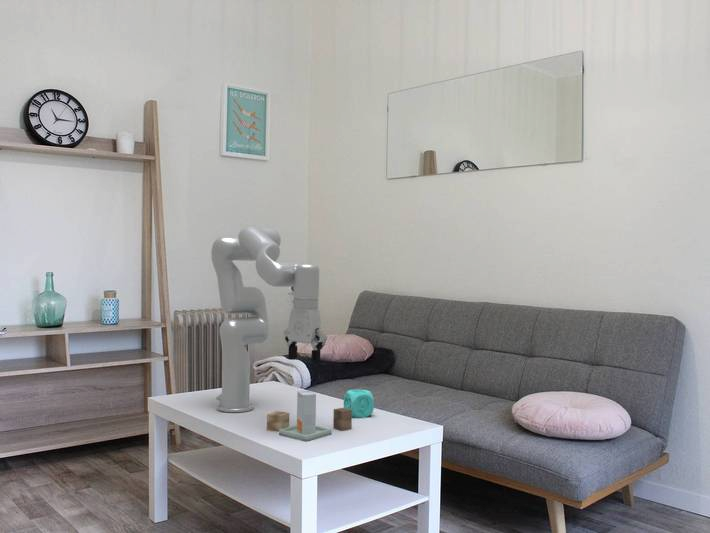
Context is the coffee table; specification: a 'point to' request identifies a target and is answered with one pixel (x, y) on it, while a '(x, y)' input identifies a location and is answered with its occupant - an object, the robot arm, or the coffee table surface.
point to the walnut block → (342, 419)
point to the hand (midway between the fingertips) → (303, 360)
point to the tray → (296, 434)
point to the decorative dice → (359, 402)
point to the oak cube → (277, 420)
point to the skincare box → (306, 412)
